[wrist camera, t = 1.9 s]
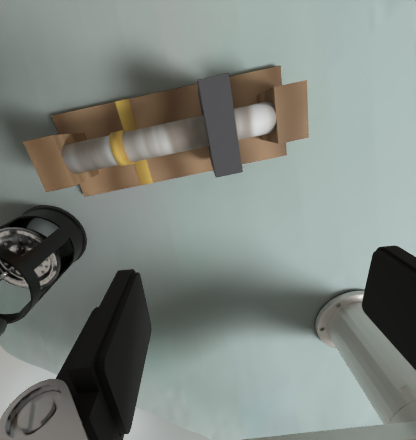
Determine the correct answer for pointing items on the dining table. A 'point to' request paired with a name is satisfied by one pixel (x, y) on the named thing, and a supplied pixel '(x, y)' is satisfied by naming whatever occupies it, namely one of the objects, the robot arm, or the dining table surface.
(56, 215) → the french press
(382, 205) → the dining table surface
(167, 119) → the pipe stand
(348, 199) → the dining table surface
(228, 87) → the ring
